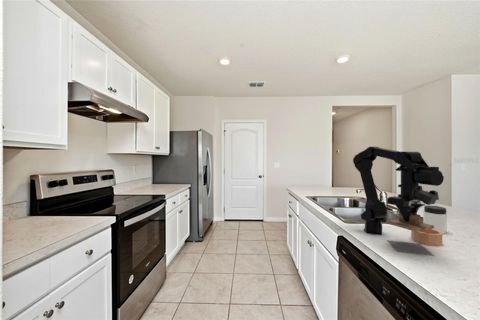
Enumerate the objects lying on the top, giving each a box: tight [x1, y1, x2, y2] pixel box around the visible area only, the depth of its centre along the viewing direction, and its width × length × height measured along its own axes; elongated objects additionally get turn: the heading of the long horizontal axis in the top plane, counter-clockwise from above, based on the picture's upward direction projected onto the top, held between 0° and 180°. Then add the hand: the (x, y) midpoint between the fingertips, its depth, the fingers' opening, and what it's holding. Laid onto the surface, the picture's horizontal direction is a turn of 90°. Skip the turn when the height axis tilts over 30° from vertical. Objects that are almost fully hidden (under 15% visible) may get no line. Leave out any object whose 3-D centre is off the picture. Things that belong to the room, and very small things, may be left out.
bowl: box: [410, 229, 444, 247], centre depth 93 cm, size 10×10×5 cm
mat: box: [386, 239, 436, 257], centre depth 86 cm, size 12×12×1 cm
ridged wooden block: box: [386, 211, 434, 232], centre depth 86 cm, size 11×11×5 cm
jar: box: [422, 204, 448, 235], centre depth 106 cm, size 9×8×12 cm
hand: (409, 221), depth 86 cm, fingers closed on ridged wooden block, 3 cm apart
